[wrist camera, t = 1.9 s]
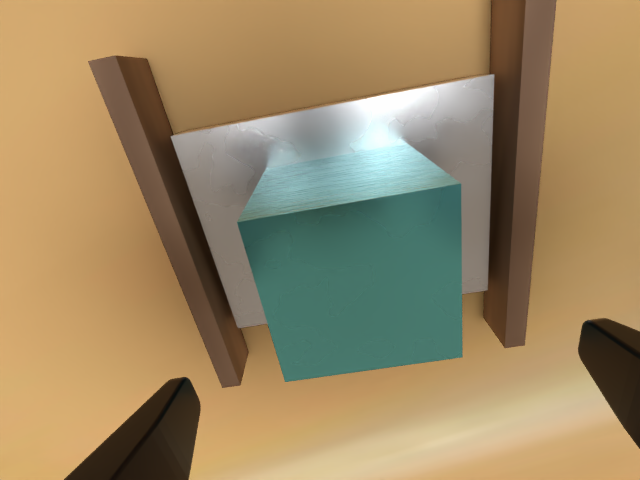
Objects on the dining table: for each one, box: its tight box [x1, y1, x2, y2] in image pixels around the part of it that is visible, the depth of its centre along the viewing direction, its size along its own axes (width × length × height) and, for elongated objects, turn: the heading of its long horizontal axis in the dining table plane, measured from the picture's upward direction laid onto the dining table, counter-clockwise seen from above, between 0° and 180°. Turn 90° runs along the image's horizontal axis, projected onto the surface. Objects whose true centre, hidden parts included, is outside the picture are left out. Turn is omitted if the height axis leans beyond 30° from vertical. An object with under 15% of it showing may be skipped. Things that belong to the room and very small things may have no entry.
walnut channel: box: [88, 0, 556, 388], centre depth 16 cm, size 16×16×2 cm
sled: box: [171, 74, 494, 382], centre depth 14 cm, size 13×10×7 cm
